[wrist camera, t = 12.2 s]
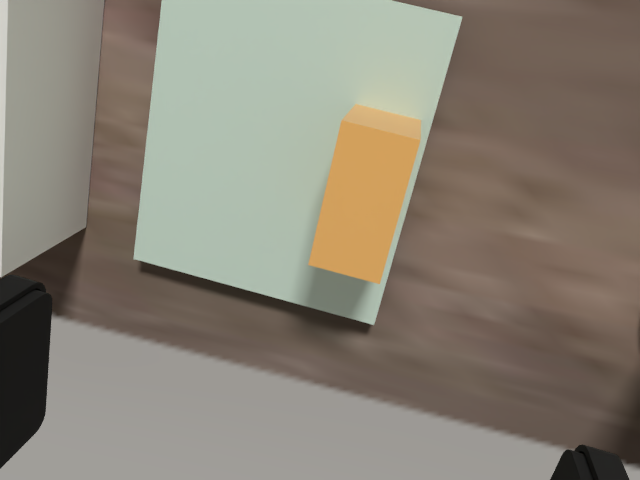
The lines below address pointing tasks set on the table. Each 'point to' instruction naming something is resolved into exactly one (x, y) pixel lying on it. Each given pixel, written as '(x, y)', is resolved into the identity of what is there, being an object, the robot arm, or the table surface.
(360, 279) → the lid
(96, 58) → the tub
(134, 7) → the table surface
